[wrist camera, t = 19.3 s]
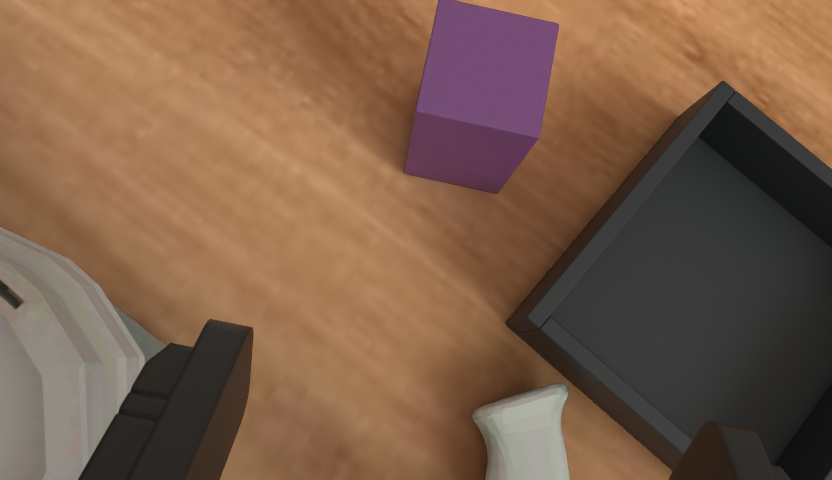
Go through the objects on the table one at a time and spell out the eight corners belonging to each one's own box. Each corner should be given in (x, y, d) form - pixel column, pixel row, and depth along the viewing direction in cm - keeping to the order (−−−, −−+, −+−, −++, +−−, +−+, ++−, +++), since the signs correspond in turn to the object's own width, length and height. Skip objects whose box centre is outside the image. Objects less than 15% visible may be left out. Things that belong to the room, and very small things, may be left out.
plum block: (497, 194, 32) (539, 138, 24) (403, 173, 32) (414, 111, 24) (514, 104, 33) (559, 23, 25) (422, 84, 33) (439, -4, 25)
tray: (504, 323, 31) (525, 316, 27) (678, 115, 34) (723, 79, 29) (736, 527, 30) (796, 552, 26) (899, 298, 33) (977, 288, 29)
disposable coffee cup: (119, 597, 28) (-154, 850, 13) (-74, 425, 29) (-535, 485, 14) (293, 390, 30) (222, 412, 15) (109, 233, 31) (-129, 110, 16)
